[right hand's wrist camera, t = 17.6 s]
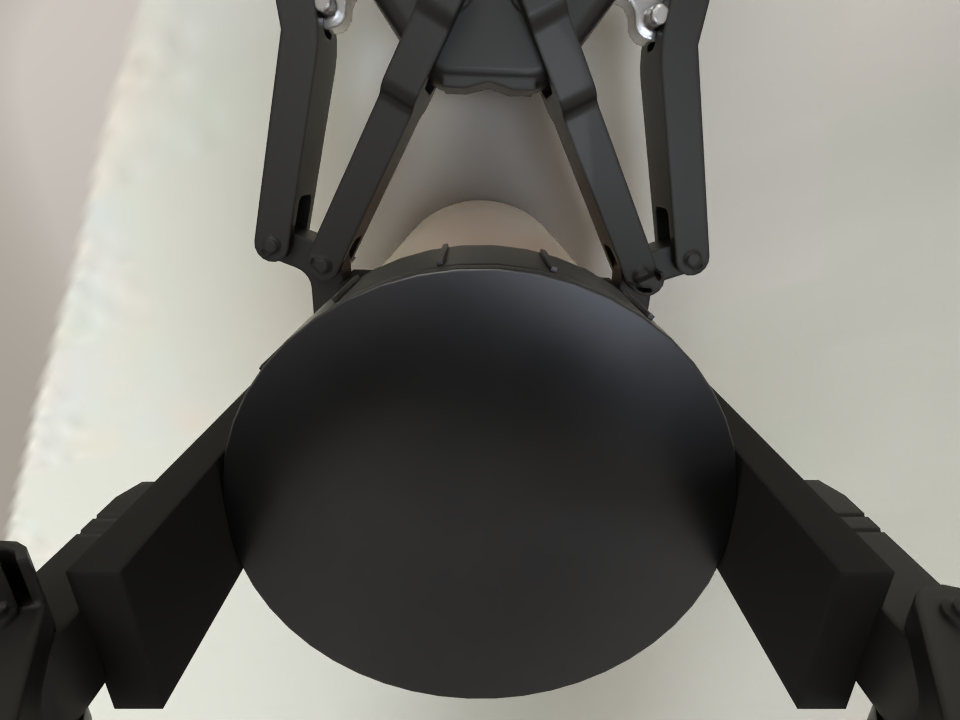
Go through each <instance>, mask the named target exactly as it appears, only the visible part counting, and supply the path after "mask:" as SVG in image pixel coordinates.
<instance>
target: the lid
mask: <svg viewBox="0 0 960 720" xmlns="http://www.w3.org/2000/svg"><path fill="white" fill-rule="evenodd" d="M653 318H654V316H653V315H652V314H651V313H650V312H649V311H648V310H647V309H646V308H645V307H644V306H642V305H641V304H640V303H639V302H638V301H637V300H636V299H635V298H634V297H633V296H632V295H631V294H630V293H629V292H627V291H626V290H624V292H623V293H622V292H620V291H619V290H618V289H617V288H615V287H614V286H613V285H612V284H610V283H608V282H607V281H605V280H603V279H601V278H600V277H598V276H596V275H595V274H593V273H591V272H590V271H588V270H586V269H584V268H582V267H579V266H577V265H574V264H572V263H570V262H567V261H565V260H562V259H560V258H558V257H554V256H551V255H549V254H548V253H547V252H546V250H543V249H541V250H540V253H539V252H536V251H532V250H528V249H522V248H514V247H506V246H498V245H460V246H453V247H449V246H448V243H447V244H443V245H442V248H439V249H432V250H428V251H424V252H421V253H417V254H413V255H410V256H406V257H403V258H400V259H397V260H395V261H393V262H390V263H388V264H386V265H383V266H381V267H379V268H376V269H374V270H372V271H370V272H369V273H367V274H365V275H364V276H362V277H359V276H358V275H356V276H354V277H353V278H352V279H351V280H350V281H349V282H348V283H347V284H346V285H345V286H344V287H343V288H342V289H341V290H339V291H338V292H337V293H336V294H335V295H334V296H333V297H332V298H331V299H330V300H329V301H328V302H326V303H325V304H324V305H323V306H322V307H321V308H320V309H319V310H318V311H317V312H316V313H315V314H313V315H312V316H311V317H310V318H309V319H308V320H307V321H306V322H305V323H304V324H303V325H302V326H301V327H300V328H299V329H298V330H297V331H296V332H295V333H294V334H293V335H292V336H291V337H290V338H289V339H287V340H286V342H285V343H284V344H283V345H282V346H281V347H280V348H279V349H277V350H276V351H275V352H274V353H273V354H272V355H271V356H270V357H269V358H268V359H267V360H266V361H265V362H264V363H263V364H262V365H261V366H260V368H259V369H260V372H259V374H258V375H257V377H256V378H255V380H254V381H253V383H252V384H251V386H250V387H249V389H248V390H247V392H246V393H245V396H244V398H243V400H242V402H241V405H240V407H239V409H238V411H237V414H236V416H235V418H234V420H233V423H232V427H231V431H230V434H229V438H228V442H227V446H226V449H225V458H224V468H223V478H222V483H223V499H224V507H225V512H226V516H227V521H228V526H229V531H230V535H231V539H232V542H233V545H234V548H235V550H236V553H237V555H238V558H239V561H240V563H241V565H242V566H243V568H244V570H245V572H246V574H247V575H248V577H249V579H250V581H251V583H252V584H253V586H254V587H255V589H256V590H257V591H258V593H259V594H260V596H261V597H262V598H263V600H264V601H265V602H266V604H267V605H268V606H269V608H270V609H271V610H272V611H273V612H274V613H275V614H276V615H277V616H278V617H279V618H280V619H281V620H282V621H283V622H284V623H285V624H286V625H287V626H288V628H290V629H291V630H292V631H293V632H295V633H296V634H297V635H298V636H299V637H301V638H302V639H303V640H304V641H305V642H307V643H308V644H309V645H310V646H312V647H313V648H315V649H317V650H318V651H320V652H321V653H323V654H324V655H326V656H327V657H329V658H330V659H332V660H333V661H335V662H337V663H339V664H341V665H343V666H345V667H347V668H349V669H351V670H353V671H355V672H357V673H359V674H362V675H364V676H367V677H369V678H372V679H374V680H377V681H380V682H382V683H385V684H388V685H392V686H395V687H399V688H403V689H406V690H410V691H414V692H420V693H425V694H431V695H436V696H444V697H456V698H467V699H468V698H505V697H515V696H525V695H530V694H535V693H540V692H545V691H551V690H554V689H558V688H561V687H565V686H568V685H572V684H575V683H578V682H581V681H583V680H586V679H588V678H591V677H593V676H596V675H598V674H601V673H603V672H606V671H607V670H609V669H611V668H613V667H615V666H617V665H619V664H621V663H623V662H625V661H627V660H628V659H630V658H632V657H633V656H635V655H636V654H638V653H639V652H641V651H642V650H644V649H645V648H647V647H648V646H650V645H651V644H653V643H654V642H655V641H656V640H657V639H658V638H660V637H661V636H662V635H663V634H664V633H666V632H667V631H668V630H669V629H670V628H672V627H673V626H674V625H675V624H676V623H677V622H678V621H679V619H680V618H681V617H682V616H683V615H684V614H685V613H686V612H687V611H688V610H689V609H690V608H691V607H692V605H693V604H694V603H695V601H696V600H697V599H698V597H699V596H700V594H701V593H702V592H703V590H704V589H705V587H706V586H707V585H708V583H709V581H710V580H711V578H712V576H713V574H714V572H715V570H716V568H717V567H718V565H719V563H720V561H721V559H722V556H723V554H724V551H725V548H726V545H727V543H728V540H729V537H730V532H731V528H732V523H733V518H734V513H735V508H736V503H737V483H738V475H737V466H736V458H735V449H734V444H733V441H732V437H731V434H730V430H729V427H728V423H727V420H726V417H725V415H724V413H723V411H722V409H721V407H720V404H719V402H718V400H717V398H716V396H715V394H714V391H713V389H712V388H711V387H710V385H709V384H708V382H707V381H706V379H705V378H704V376H703V375H702V373H701V372H700V371H699V369H698V368H697V366H696V365H695V363H694V362H693V361H692V360H691V359H690V358H689V357H688V356H687V355H686V354H685V352H684V351H683V350H682V349H681V348H680V347H679V346H678V345H677V344H676V343H675V342H674V341H673V340H672V338H671V337H669V336H668V335H667V334H666V333H665V332H664V331H663V330H662V329H661V328H660V327H659V326H658V325H657V324H656V323H655V322H654V321H653V320H652V319H653Z"/></svg>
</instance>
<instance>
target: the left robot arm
mask: <svg viewBox="0 0 960 720" xmlns="http://www.w3.org/2000/svg"><path fill="white" fill-rule="evenodd" d="M356 1H357V0H276V4H277V9H278V15H279V20H280V26H281V34H280V42H279V50H278V58H277V66H276V74H275V82H274V90H273V98H272V106H271V114H270V122H269V130H268V138H267V146H266V153H265V161H264V169H263V177H262V185H261V193H260V201H259V209H258V217H257V225H256V233H255V248H256V251H257V253H258V254H259V255H260V256H261V257H262V258H263V259H265V260H267V261H271V262H276V261H281V262H283V263H286V264H289V265H291V266H294V267H296V268H298V269H300V270H302V271H303V272H304V273H305V274H306V275H307V276H308V278H309V280H310V282H311V286H312V296H313V308H314V314H315V313H316V312H317V311H318V310H319V309H320V308H321V307H322V306H323V305H324V304H325V303H326V302H328V301H329V300H330V299H331V298H332V297H333V296H334V295H335V294H336V293H337V292H338V291H339V290H341V289H342V288H343V287H344V286H345V285H346V284H347V283H348V282H349V281H350V280H351V279H352V278H353V277H354V276H356V275H358V276H359V277H362V276H364V275H365V274H367V273H369V272H370V271H372V270H353V271H352V272H351V263H352V262H353V261H354V259H355V258H356V257H354V255H355V253H356V251H357V249H358V247H359V245H360V243H361V241H362V239H363V236H364V234H365V232H366V230H367V228H368V226H369V224H370V222H371V220H372V218H373V215H374V213H375V211H376V209H377V207H378V205H379V203H380V201H381V199H382V197H383V195H384V192H385V190H386V188H387V186H388V184H389V182H390V180H391V178H392V176H393V174H394V171H395V169H396V167H397V165H398V163H399V161H400V159H401V157H402V155H403V153H404V151H405V148H406V146H407V144H408V142H409V140H410V138H411V136H412V134H413V132H414V130H415V127H416V125H417V123H418V121H419V119H420V118H421V116H422V115H423V113H424V112H425V110H426V108H427V106H428V104H429V102H430V100H431V98H432V96H433V94H434V91H435V89H436V88H438V89H440V90H443V91H445V93H446V94H470V93H474V92H478V91H482V90H486V89H490V90H493V91H496V92H499V93H502V94H505V95H508V96H522V97H530V96H531V95H532V94H534V93H538V92H540V94H541V96H542V99H543V101H544V104H545V106H546V109H547V111H548V114H549V116H550V118H551V119H552V121H553V122H554V124H555V127H556V129H557V132H558V134H559V137H560V140H561V142H562V145H563V147H564V150H565V152H566V155H567V157H568V160H569V162H570V165H571V168H572V170H573V173H574V175H575V178H576V180H577V183H578V185H579V188H580V190H581V193H582V196H583V198H584V201H585V203H586V206H587V208H588V211H589V213H590V216H591V218H592V221H593V224H594V226H595V229H596V231H597V234H598V236H599V239H600V241H601V244H602V246H603V249H604V251H605V254H606V257H607V259H608V262H609V264H610V267H611V269H612V271H613V272H612V280H611V279H610V278H601V279H603V280H605V281H607V282H608V283H610V284H612V285H613V286H614V287H615V288H617V289H618V290H619V291H620V292H622V293H623V292H624V290H626V291H627V292H629V293H630V294H631V295H632V296H633V297H634V298H635V299H636V300H637V301H638V302H639V303H640V304H641V305H642V306H644V307H645V308H646V309H647V310H648V306H649V300H650V295H653V294H655V293H656V292H658V291H659V290H660V289H661V287H662V286H663V283H664V280H666V279H669V278H673V277H676V276H679V275H682V274H686V275H696V274H698V273H700V272H701V271H703V270H704V269H705V268H706V266H707V264H708V262H709V241H708V222H707V204H706V185H705V167H704V148H703V130H702V112H701V93H700V75H699V56H698V43H699V39H700V35H701V32H702V28H703V24H704V20H705V16H706V12H707V8H708V4H709V0H374V1H375V3H376V4H377V6H378V8H379V9H380V11H381V12H382V14H383V15H384V17H385V19H386V20H387V22H388V23H389V25H390V26H391V28H392V30H393V31H394V33H395V34H396V36H397V38H398V39H399V44H398V46H397V48H396V50H395V53H394V55H393V57H392V59H391V62H390V64H389V66H388V68H387V71H386V73H385V75H384V78H383V80H382V84H381V88H380V93H379V96H378V99H377V101H376V103H375V106H374V108H373V110H372V112H371V114H370V117H369V119H368V121H367V123H366V126H365V128H364V130H363V132H362V135H361V137H360V139H359V141H358V144H357V146H356V148H355V150H354V153H353V155H352V157H351V159H350V162H349V164H348V166H347V168H346V171H345V173H344V175H343V177H342V180H341V182H340V184H339V186H338V189H337V191H336V193H335V195H334V198H333V200H332V202H331V204H330V207H329V209H328V211H327V213H326V216H325V218H324V220H323V222H322V225H321V227H320V229H319V231H318V233H316V232H314V231H311V230H309V229H310V223H311V216H312V210H313V204H314V198H315V192H316V186H317V179H318V173H319V167H320V161H321V155H322V148H323V142H324V136H325V130H326V124H327V117H328V111H329V105H330V99H331V93H332V87H333V80H334V74H335V67H336V58H337V37H336V34H340V33H343V32H344V31H346V30H347V29H348V28H349V26H350V24H351V21H352V13H353V7H354V5H355V3H356ZM612 4H615V5H618V6H620V7H621V8H622V9H623V10H624V11H625V13H626V15H627V18H628V32H629V36H630V38H631V39H632V41H633V42H634V43H636V44H637V45H640V46H642V50H641V62H640V76H641V90H642V101H643V112H644V123H645V134H646V145H647V157H648V168H649V179H650V190H651V201H652V212H653V223H654V234H655V242H652V243H649V244H648V242H647V239H646V236H645V233H644V231H643V228H642V225H641V222H640V220H639V217H638V214H637V211H636V208H635V206H634V203H633V200H632V197H631V195H630V192H629V189H628V186H627V184H626V181H625V178H624V175H623V172H622V170H621V167H620V164H619V161H618V159H617V156H616V153H615V150H614V148H613V145H612V142H611V139H610V137H609V134H608V131H607V128H606V125H605V123H604V120H603V117H602V114H601V112H600V109H599V106H598V103H597V93H596V88H595V85H594V82H593V79H592V76H591V73H590V71H589V68H588V65H587V62H586V60H585V57H584V54H583V51H582V48H581V46H582V45H583V44H584V42H585V41H586V40H587V38H588V37H589V36H590V34H591V33H592V31H593V30H594V29H595V27H596V26H597V25H598V23H599V22H600V21H601V19H602V18H603V17H604V15H605V14H606V12H607V11H608V10H609V8H610V7H611V6H612Z"/></svg>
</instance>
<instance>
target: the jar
mask: <svg viewBox="0 0 960 720" xmlns="http://www.w3.org/2000/svg"><path fill="white" fill-rule="evenodd" d="M447 243H448V246H449V247H453V246H460V245H498V246H506V247H514V248H522V249H528V250H532V251H536V252H539V253H540V250H541V249H543V250H546V252H547V253H548V254H549V255H551V256H554V257H558V258H560V259H562V260H565V261H567V262H570V263H572V264H574V265H577V266H578V264H577V263H576V262H575V261H574V260H573V259H572V258H571V257H570V255H569V254H568V253H567V252H566V251H565V250H564V249H563V248H562V246H561V245H560V244H559V243H558V242H557V241H556V240H555V238H554V237H553V236H552V235H551V234H550V233H549V232H548V231H547V230H546V229H545V227H544V226H543V225H542V224H541V223H539V222H538V221H537V220H536V219H535V218H533V217H532V216H530V215H529V214H527V213H526V212H524V211H522V210H520V209H518V208H516V207H513V206H511V205H508V204H504V203H501V202H496V201H489V200H472V201H464V202H459V203H456V204H452V205H449V206H447V207H444V208H442V209H440V210H438V211H436V212H435V213H433V214H431V215H430V216H428V217H427V218H426V219H424V220H423V221H422V222H421V223H419V224H418V226H417V227H416V228H415V229H414V230H413V231H412V232H411V233H410V234H409V235H408V236H407V238H406V239H405V240H404V241H403V242H402V243H401V244H400V245H399V247H398V248H397V249H396V250H395V251H394V252H393V253H392V254H391V256H390V257H389V258H388V259H387V260H386V261H385V262H384V263H383V265H386V264H388V263H390V262H393V261H395V260H397V259H400V258H403V257H406V256H410V255H413V254H417V253H421V252H424V251H428V250H432V249H439V248H442V245H443V244H447ZM383 265H382V266H383Z"/></svg>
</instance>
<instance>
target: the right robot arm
mask: <svg viewBox="0 0 960 720" xmlns="http://www.w3.org/2000/svg"><path fill="white" fill-rule="evenodd" d="M250 386H251V385H250ZM250 386H249V387H250ZM249 387H248V388H247V389H246V390H245V391H244V392H243V394H242V395H241V396H240V397H239V398H238V399H237V400H236V401H235V402H234V403H233V404H232V405H231V406H230V407H229V408H228V409H227V410H226V411H225V412H224V413H223V414H222V415H221V416H220V417H219V418H218V419H217V420H216V421H215V422H214V423H213V424H212V425H211V426H210V427H209V428H208V429H207V430H206V431H205V432H204V433H203V434H202V435H201V436H200V437H199V438H198V439H197V440H196V441H195V442H194V443H193V444H192V445H191V446H190V447H189V448H188V449H187V450H186V451H185V452H184V453H183V454H182V455H181V456H180V457H179V458H178V459H177V460H176V461H175V462H174V463H173V464H172V465H171V466H170V467H169V468H168V469H167V470H166V471H165V472H164V473H163V474H162V475H161V476H160V477H159V478H158V479H157V480H156V481H155V482H141V483H140V484H138V485H136V486H134V487H133V488H131V489H129V490H128V491H126V492H124V493H122V494H121V495H119V496H117V497H116V498H115V499H114V500H112V501H111V502H110V503H109V504H108V505H107V506H106V507H105V508H104V509H103V510H102V511H101V512H100V513H99V514H98V515H97V518H96V519H92V520H91V521H90V522H89V523H88V524H87V525H86V526H85V527H84V528H83V529H82V530H81V533H80V534H76V535H75V536H74V537H73V538H72V539H71V540H70V541H69V542H68V543H67V544H66V545H65V546H64V547H63V548H61V549H60V550H59V551H58V552H57V553H56V554H55V555H54V556H53V557H52V558H51V559H50V560H49V561H48V562H47V563H46V564H44V565H43V566H42V567H41V568H40V569H39V570H38V571H37V572H36V571H35V568H34V566H33V563H32V560H31V558H30V555H29V553H28V550H27V547H25V546H24V545H22V544H20V543H18V542H15V541H0V720H92V717H91V713H90V711H89V708H88V706H89V705H90V703H91V702H92V700H93V699H94V697H95V696H96V695H97V693H98V692H99V690H100V689H101V688H102V686H103V685H104V683H106V686H107V689H108V692H109V694H110V697H111V700H112V703H113V706H114V708H115V709H163V708H164V706H165V704H166V702H167V701H168V699H169V697H170V695H171V694H172V692H173V690H174V688H175V687H176V685H177V683H178V681H179V680H180V678H181V676H182V674H183V673H184V671H185V669H186V667H187V666H188V664H189V662H190V660H191V659H192V657H193V655H194V653H195V652H196V650H197V648H198V646H199V645H200V643H201V641H202V639H203V638H204V636H205V634H206V632H207V631H208V629H209V627H210V625H211V624H212V622H213V620H214V618H215V617H216V615H217V613H218V611H219V610H220V608H221V606H222V604H223V603H224V601H225V599H226V597H227V596H228V594H229V592H230V590H231V589H232V587H233V585H234V583H235V582H236V580H237V578H238V576H239V575H240V573H241V571H242V569H243V566H242V565H241V563H240V561H239V558H238V555H237V553H236V550H235V548H234V545H233V542H232V539H231V535H230V531H229V526H228V521H227V516H226V512H225V507H224V499H223V483H222V478H223V468H224V458H225V449H226V446H227V442H228V438H229V434H230V431H231V427H232V423H233V420H234V418H235V416H236V414H237V411H238V409H239V407H240V405H241V402H242V400H243V398H244V396H245V393H246V392H247V390H248V389H249ZM710 387H711V386H710ZM711 388H712V387H711ZM712 389H713V388H712ZM713 391H714V394H715V396H716V398H717V400H718V402H719V404H720V407H721V409H722V411H723V413H724V415H725V417H726V420H727V423H728V427H729V430H730V434H731V437H732V441H733V444H734V449H735V458H736V466H737V475H738V483H737V503H736V508H735V513H734V518H733V523H732V528H731V532H730V537H729V540H728V543H727V545H726V548H725V551H724V554H723V556H722V559H721V561H720V563H719V565H718V567H717V569H718V571H719V572H720V574H721V576H722V578H723V579H724V581H725V583H726V585H727V586H728V588H729V590H730V592H731V593H732V595H733V597H734V599H735V600H736V602H737V604H738V606H739V607H740V609H741V611H742V613H743V614H744V616H745V618H746V620H747V621H748V623H749V625H750V627H751V628H752V630H753V632H754V634H755V635H756V637H757V639H758V641H759V642H760V644H761V646H762V648H763V649H764V651H765V653H766V655H767V656H768V658H769V660H770V662H771V663H772V665H773V667H774V669H775V670H776V672H777V674H778V676H779V677H780V679H781V681H782V683H783V684H784V686H785V688H786V690H787V691H788V693H789V695H790V697H791V698H792V700H793V702H794V704H795V705H796V707H797V709H846V707H847V704H848V701H849V698H850V696H851V693H852V690H853V687H854V685H855V682H856V681H857V683H858V684H859V686H860V687H861V688H862V690H863V691H864V693H865V694H866V695H867V697H868V698H869V700H870V701H871V702H872V704H873V706H872V708H871V711H870V713H869V716H868V719H867V720H960V588H957V587H952V586H947V585H940V584H939V583H938V582H937V581H936V580H935V579H934V578H933V577H932V576H931V575H929V574H928V573H927V572H926V571H925V570H924V569H923V568H922V567H921V566H920V565H919V564H918V563H917V562H916V561H915V560H913V559H912V558H911V557H910V556H909V555H908V554H907V553H906V552H905V551H904V550H903V549H902V548H901V547H900V546H898V545H897V544H896V543H895V542H894V541H893V540H892V539H891V538H890V537H889V536H888V535H887V534H886V533H885V532H881V531H880V528H879V527H878V526H877V525H876V524H875V523H874V522H873V521H872V520H871V519H870V518H869V517H865V516H864V513H863V512H862V511H861V510H860V509H859V508H858V507H857V506H856V505H855V504H854V503H853V502H851V501H850V500H849V499H848V498H847V497H846V496H845V495H843V494H842V493H840V492H838V491H836V490H835V489H833V488H831V487H829V486H828V485H826V484H824V483H822V482H821V481H819V480H803V479H802V478H801V477H800V476H799V475H798V474H797V473H796V472H795V471H794V470H793V469H792V468H791V467H790V466H789V465H788V464H787V463H786V462H785V461H784V460H783V459H782V458H781V457H780V456H779V455H778V454H777V453H776V452H775V451H774V450H773V449H772V448H771V447H770V446H769V445H768V444H767V443H766V441H765V440H764V439H763V438H762V437H761V436H760V435H759V434H758V433H757V432H756V431H755V430H754V429H753V428H752V427H751V426H750V425H749V424H748V423H747V422H746V421H745V420H744V419H743V418H742V417H741V416H740V415H739V414H738V413H737V412H736V411H735V410H734V409H733V408H732V407H731V406H730V405H729V404H728V403H727V402H726V401H725V400H724V399H723V398H722V397H721V396H720V395H719V394H718V393H717V392H716V391H715V390H714V389H713Z"/></svg>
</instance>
